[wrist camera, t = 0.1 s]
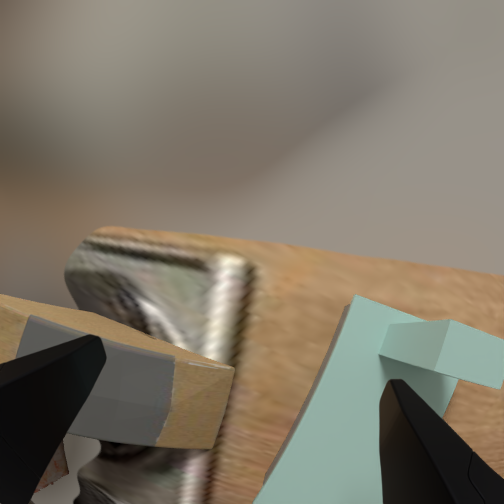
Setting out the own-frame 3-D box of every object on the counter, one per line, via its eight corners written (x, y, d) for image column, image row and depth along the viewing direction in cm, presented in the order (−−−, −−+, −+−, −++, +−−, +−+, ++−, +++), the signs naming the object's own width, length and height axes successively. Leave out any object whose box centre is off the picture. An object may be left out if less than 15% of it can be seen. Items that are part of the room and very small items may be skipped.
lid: (365, 521, 13) (387, 595, 4) (255, 494, 16) (226, 575, 7) (461, 337, 16) (549, 335, 7) (350, 296, 19) (397, 269, 9)
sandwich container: (213, 452, 20) (126, 553, 6) (78, 386, 24) (-41, 398, 9) (238, 366, 22) (147, 419, 8) (93, 310, 25) (-34, 284, 11)
